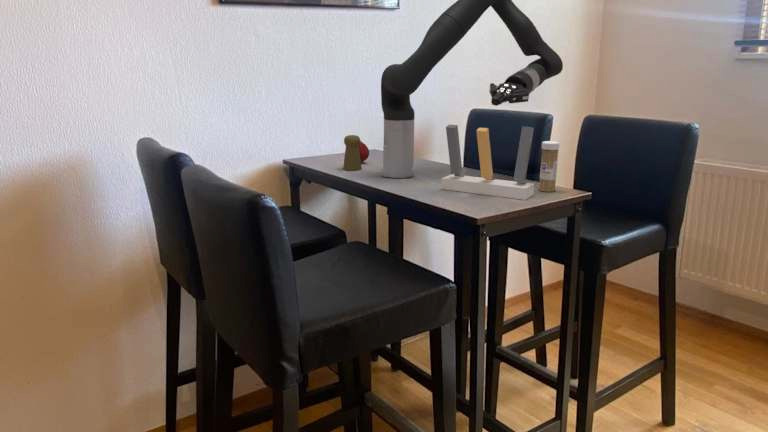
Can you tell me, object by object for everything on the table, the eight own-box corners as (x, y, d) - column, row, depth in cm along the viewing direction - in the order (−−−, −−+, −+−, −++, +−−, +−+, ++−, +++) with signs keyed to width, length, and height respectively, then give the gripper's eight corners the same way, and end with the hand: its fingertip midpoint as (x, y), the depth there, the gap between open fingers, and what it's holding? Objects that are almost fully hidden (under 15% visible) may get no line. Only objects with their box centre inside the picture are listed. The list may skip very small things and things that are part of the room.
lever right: (512, 182, 157) (522, 126, 157) (515, 183, 158) (524, 127, 158) (522, 183, 155) (531, 126, 155) (524, 184, 157) (533, 128, 157)
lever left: (451, 177, 166) (445, 127, 159) (454, 173, 168) (448, 124, 160) (459, 178, 165) (454, 128, 157) (462, 174, 166) (457, 125, 159)
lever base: (440, 189, 166) (441, 177, 165) (451, 184, 171) (452, 173, 170) (524, 199, 153) (525, 187, 153) (533, 194, 159) (534, 182, 158)
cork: (359, 171, 190) (359, 136, 187) (340, 170, 191) (340, 136, 189) (363, 167, 196) (363, 134, 193) (345, 167, 197) (345, 133, 194)
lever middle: (481, 180, 162) (476, 130, 154) (484, 177, 163) (479, 127, 155) (490, 181, 160) (485, 131, 152) (493, 178, 162) (488, 128, 154)
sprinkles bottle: (535, 190, 164) (539, 141, 161) (543, 187, 167) (546, 140, 164) (551, 193, 161) (555, 143, 158) (558, 190, 165) (562, 141, 161)
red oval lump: (372, 162, 205) (372, 139, 203) (363, 165, 200) (362, 141, 198) (358, 161, 208) (358, 138, 206) (348, 163, 203) (348, 140, 201)
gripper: (503, 66, 179) (474, 83, 168) (544, 76, 173) (517, 94, 161) (500, 90, 183) (472, 108, 172) (540, 100, 177) (514, 120, 165)
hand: (494, 102), depth 167 cm, fingers closed
